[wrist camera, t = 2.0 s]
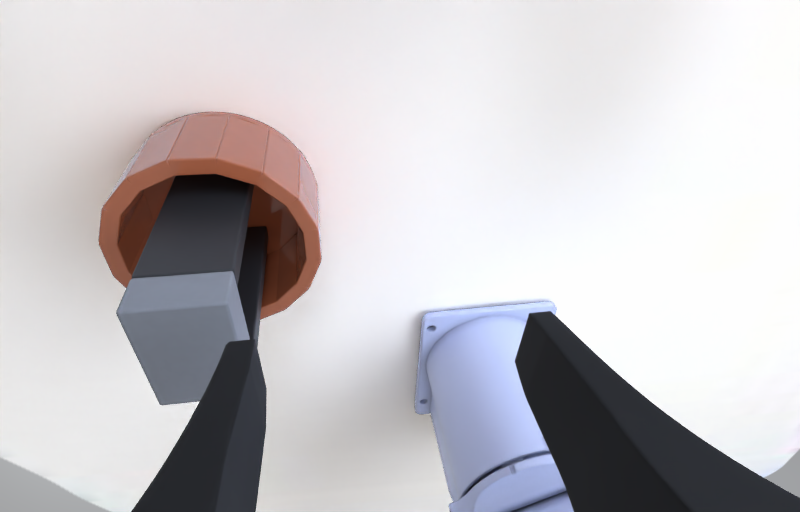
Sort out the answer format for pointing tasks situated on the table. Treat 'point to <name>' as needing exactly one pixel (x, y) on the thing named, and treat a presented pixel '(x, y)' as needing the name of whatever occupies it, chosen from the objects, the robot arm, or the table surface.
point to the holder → (231, 157)
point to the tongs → (195, 285)
